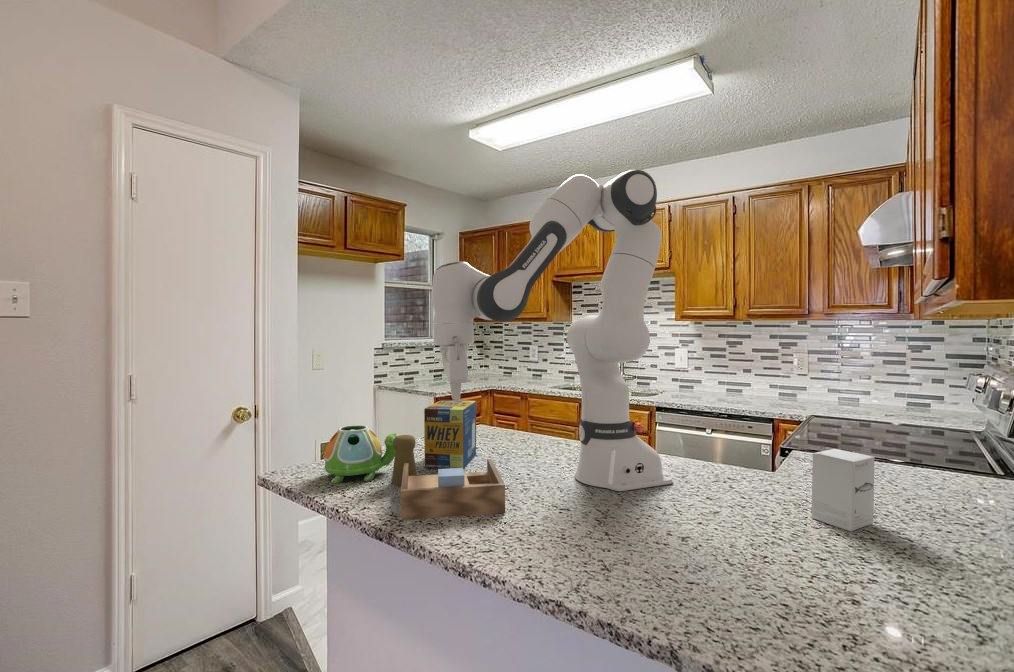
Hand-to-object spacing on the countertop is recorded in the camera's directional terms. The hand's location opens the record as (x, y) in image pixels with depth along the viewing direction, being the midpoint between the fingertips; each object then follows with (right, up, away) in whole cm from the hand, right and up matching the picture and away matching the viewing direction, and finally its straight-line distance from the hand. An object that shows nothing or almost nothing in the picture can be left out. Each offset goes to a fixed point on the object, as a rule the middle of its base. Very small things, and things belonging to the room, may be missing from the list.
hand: (455, 398), depth 109 cm
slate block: (0, -18, -11) cm, 21 cm away
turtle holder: (-25, -21, +12) cm, 35 cm away
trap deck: (-1, -21, -5) cm, 21 cm away
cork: (-13, -21, +6) cm, 25 cm away
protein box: (-4, -20, +24) cm, 32 cm away
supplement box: (+74, -21, -17) cm, 78 cm away
